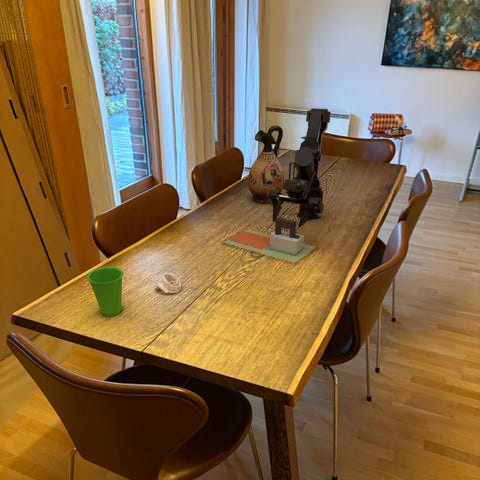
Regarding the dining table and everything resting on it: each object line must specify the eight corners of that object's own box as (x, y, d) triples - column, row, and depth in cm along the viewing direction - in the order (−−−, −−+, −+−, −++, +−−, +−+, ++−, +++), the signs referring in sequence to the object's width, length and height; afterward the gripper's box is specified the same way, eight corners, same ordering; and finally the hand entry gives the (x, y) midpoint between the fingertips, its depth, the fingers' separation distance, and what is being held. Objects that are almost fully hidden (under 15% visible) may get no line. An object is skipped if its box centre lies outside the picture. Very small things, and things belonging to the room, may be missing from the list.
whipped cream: (168, 283, 141) (166, 268, 139) (187, 286, 138) (185, 270, 136) (152, 293, 134) (150, 277, 132) (172, 297, 132) (170, 280, 129)
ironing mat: (223, 243, 163) (223, 241, 163) (247, 230, 174) (247, 228, 173) (294, 264, 150) (294, 262, 150) (316, 248, 160) (316, 246, 160)
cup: (97, 303, 129) (90, 267, 123) (130, 301, 130) (125, 265, 124) (91, 321, 122) (83, 283, 116) (126, 319, 122) (121, 282, 116)
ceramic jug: (258, 207, 194) (260, 130, 178) (241, 197, 205) (241, 123, 189) (293, 201, 201) (298, 126, 184) (274, 191, 212) (277, 120, 196)
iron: (303, 249, 158) (305, 220, 153) (295, 256, 154) (297, 226, 148) (274, 242, 163) (275, 214, 158) (265, 249, 158) (266, 220, 153)
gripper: (270, 164, 153) (252, 207, 151) (324, 172, 145) (306, 218, 143) (279, 182, 163) (263, 223, 161) (330, 191, 155) (314, 234, 153)
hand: (286, 224), depth 154 cm, fingers open, 9 cm apart
